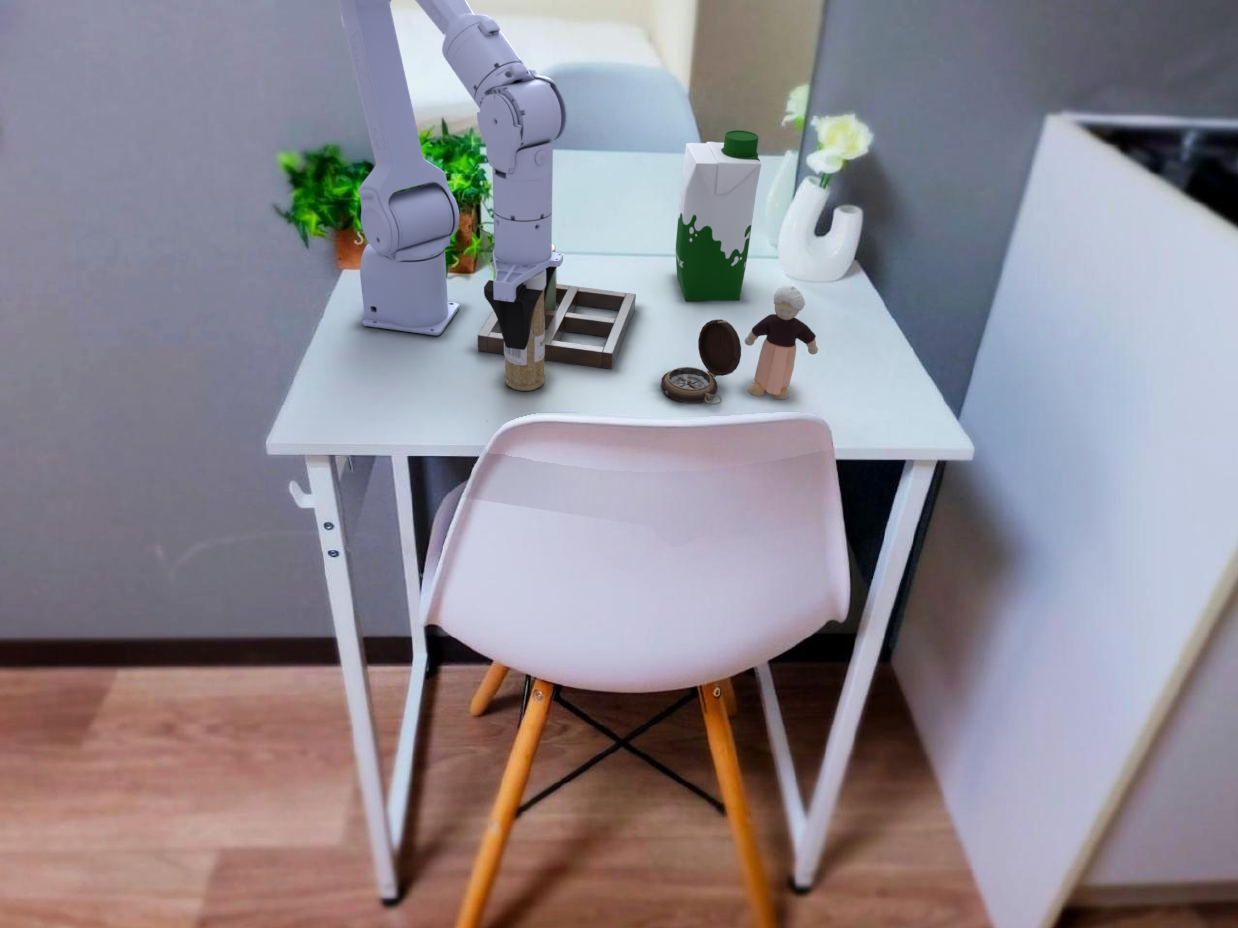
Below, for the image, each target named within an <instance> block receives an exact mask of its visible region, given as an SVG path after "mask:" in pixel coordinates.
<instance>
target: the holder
mask: <svg viewBox="0 0 1238 928" xmlns="http://www.w3.org/2000/svg"><path fill="white" fill-rule="evenodd" d="M636 297H637V294H636V293H630V292H623V291H615V290H607V289H601V288H600V289H599V288H591V287H585V286H584V287H583V286H575V285H568V284H561V283H557V286H556V304H557V303H558V304H559V305H558V307H557V308H556V311H552V310H545V309H544V317H545V355H544V361H551V362H557V363H564V364H565V363H566V364H573V365H579V366H587V367H594V368H601V369H608V370H609V369H610V370H611V369H613V367H614V364H615V361H616V359H617V355H618V354H619V351H620V348H621V346H622V343H623V340H624V338H625V336H626V333H627V330H628V328H629V325H630V322H631V320H632V317H633V315H634V312H635V309H636ZM577 306H580V307H581V306H582V307H588V308H589V307H590V308H596V309H604V310H612V311H618V312H617V315H616V318H612V317H606V316H598V315H590V314H581V313H574V312H575V309H576V307H577ZM564 332H567V333H573V334H579V335H580V334H582V335H588V336H595V337H602V338H607V339H606V342H605V343H604V346H597V345H590V344H588V345H587V344H582V343H575V342H569V341H568V342H566V341H561V338H562V336H563V334H564ZM477 351H478V352H484V353H485V352H487V353H492V354H499V355H504V339H503V336H502V332H501V329H500V325H499V322H498V319H497V316H496V314H495V312H494V310H493V311H492V312H491V314H490V316H489V317H488V319H487V320H486V322H485V323H484V325H483V327H481V329H480V331H479V332H478V334H477Z"/></svg>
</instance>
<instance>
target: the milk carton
mask: <svg viewBox="0 0 1238 928" xmlns="http://www.w3.org/2000/svg"><path fill="white" fill-rule="evenodd" d="M758 145H759V135H758V134H756V133H754V132H752V131H748V130H729V131H727V132H725V134H724V141H723V142H716V141H706V142H686V143H685V152H684V158H683V166H682V174H681V182H680V192H679V193H680V195H679V205H678V215H677V228H676V239H675V263H676V265H675V266H676V277H677V281H678V283H679V286H680V289H681V291H682V292H681V293H682V295H683V298H684V300H685V301H740V300H741V294H742V289H743V283H744V279H745V274H746V268H747V262H748V255H749V248H750V241H751V234H752V233H751V232H752V225H753V218H754V211H755V203H756V196H757V189H758V184H759V178H760V173H761V168H762V163H761V161H760V158H759V153H758Z"/></svg>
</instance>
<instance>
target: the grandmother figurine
mask: <svg viewBox="0 0 1238 928" xmlns="http://www.w3.org/2000/svg"><path fill="white" fill-rule="evenodd" d="M772 299H773V304H774V313H772V314H768V315H766V316H764V318H763V319H760V321H759V322H757V323H756V324H755V325H754V326H753V327H751V330H750V332H749V333H748V336H747V337H745V339H744V343H745V345H746V346H747V347H750V346H753V345H754V343H755V341H757V340H758V339H759V337H762V336H766V337H765V339H764V341H763V343H762V346H761V349H760V353H759V357H758V361H757V365H756V369H755V373H754V379H753V381H754V382H753V383H752V384H750V385H749V386H748V388H747V392H748V393H749V394H750V395H753V396H757V397H758V396H759V397H761V396H764V395H765V394H766V393H767V394H770V396H771V397H772V398H773V399H777V400H787V399H788V398H789V397H790V394H789V390H788V388H789V387H790V384H791V379H792V376H793V372H794V367H795V360H796V356H797V343H796V340H799V341H800V342H802V343H804V344H805V345H806V347H807V351H808V353H809V354H810V355H817V354H818V352H819V348H818V346H817V341H816V337H817V335H816V334H815V332H813V330H812V329H811V328H810V327H809V326H808V325H807V324H806V323H804V322H803V321H802V320H800V319H798V318H797V315H798V314H799V312H801V311H802V310H803V309H804V308H805V305H806V303H805V302H806V300H805V298H804V296H803V294H802V292H801V291H800V290H798V289H797V288H796V287H795V286H794V285H783V286H780V287H779V288H778V289H777V290H776V291H775V293H774V294H773V298H772Z"/></svg>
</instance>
